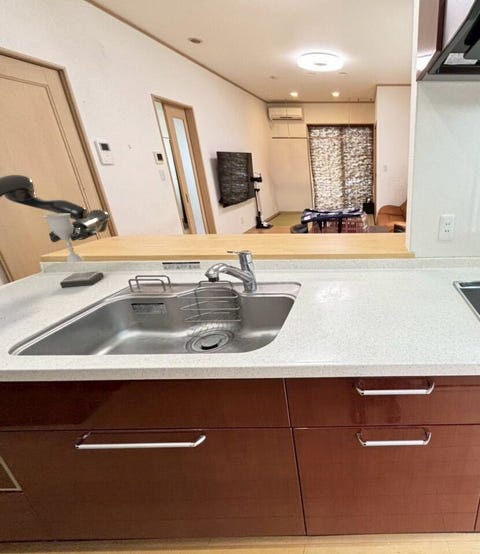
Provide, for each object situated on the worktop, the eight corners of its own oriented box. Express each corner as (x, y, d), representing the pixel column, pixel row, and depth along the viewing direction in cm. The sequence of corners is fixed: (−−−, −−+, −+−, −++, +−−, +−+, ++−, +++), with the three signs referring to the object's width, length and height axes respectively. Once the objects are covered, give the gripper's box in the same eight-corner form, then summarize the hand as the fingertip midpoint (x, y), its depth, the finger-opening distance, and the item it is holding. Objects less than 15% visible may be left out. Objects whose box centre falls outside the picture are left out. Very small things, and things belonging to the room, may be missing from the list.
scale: (61, 288, 115) (58, 281, 114) (75, 279, 123) (73, 272, 122) (92, 285, 118) (89, 278, 117) (104, 277, 126) (101, 270, 125)
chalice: (87, 256, 122) (70, 212, 115) (88, 260, 117) (70, 215, 110) (62, 260, 117) (43, 214, 110) (62, 264, 113) (42, 217, 105)
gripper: (57, 221, 122) (33, 230, 107) (100, 218, 127) (82, 227, 112) (64, 238, 125) (41, 250, 110) (106, 235, 130) (90, 246, 115)
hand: (62, 238), depth 111 cm, fingers closed on chalice, 5 cm apart
